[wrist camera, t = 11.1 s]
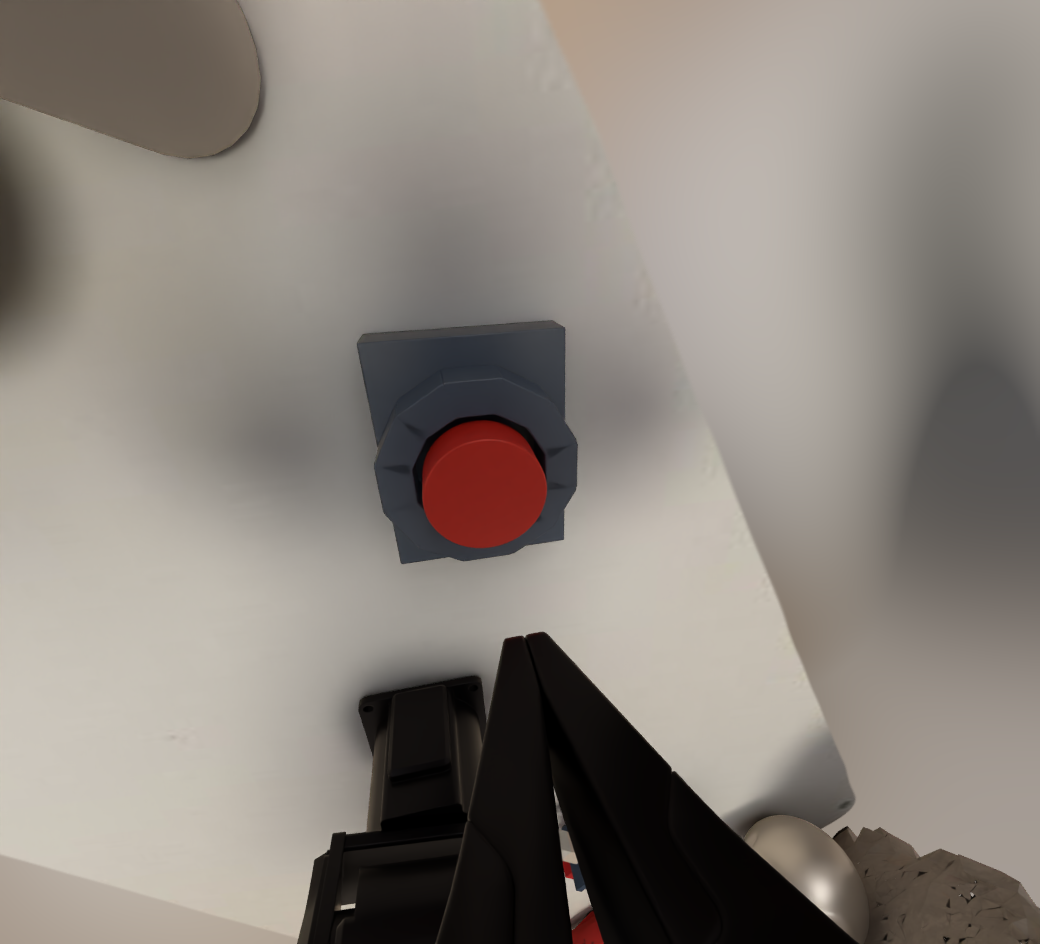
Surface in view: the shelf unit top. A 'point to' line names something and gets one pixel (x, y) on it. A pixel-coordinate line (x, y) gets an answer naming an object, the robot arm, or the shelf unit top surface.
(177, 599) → the shelf unit top surface
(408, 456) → the button block
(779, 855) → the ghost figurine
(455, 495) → the button
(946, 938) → the stone
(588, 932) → the screwdriver
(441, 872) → the robot arm
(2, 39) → the beverage can
